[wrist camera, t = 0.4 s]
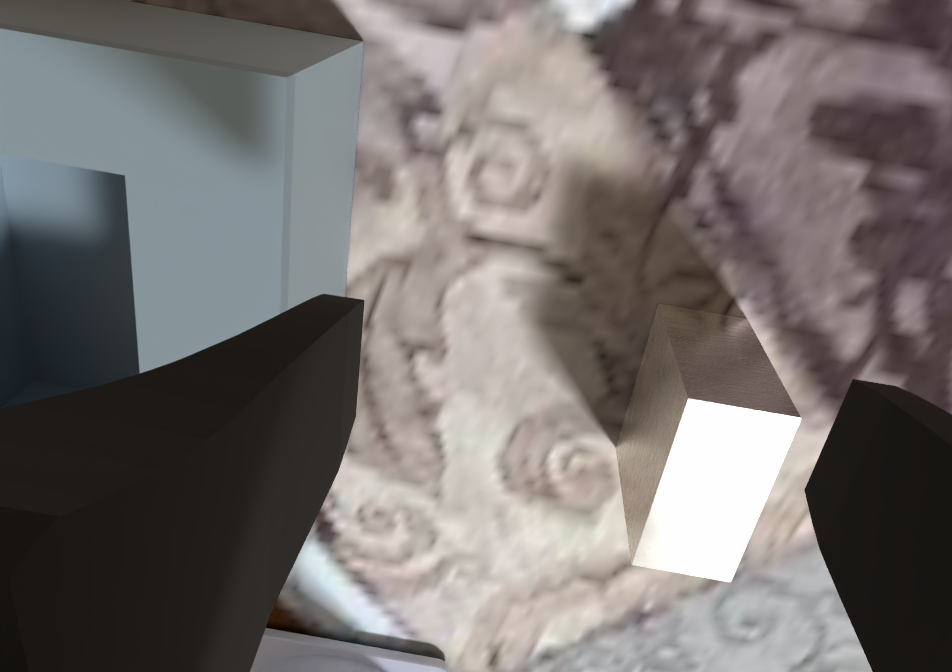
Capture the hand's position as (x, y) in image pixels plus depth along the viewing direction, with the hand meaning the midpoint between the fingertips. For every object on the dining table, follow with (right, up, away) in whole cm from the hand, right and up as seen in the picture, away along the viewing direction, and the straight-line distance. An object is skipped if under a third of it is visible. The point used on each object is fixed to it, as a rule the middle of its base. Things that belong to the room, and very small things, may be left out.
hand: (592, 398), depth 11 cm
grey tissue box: (-10, +4, +10) cm, 15 cm away
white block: (+4, -1, +11) cm, 12 cm away
